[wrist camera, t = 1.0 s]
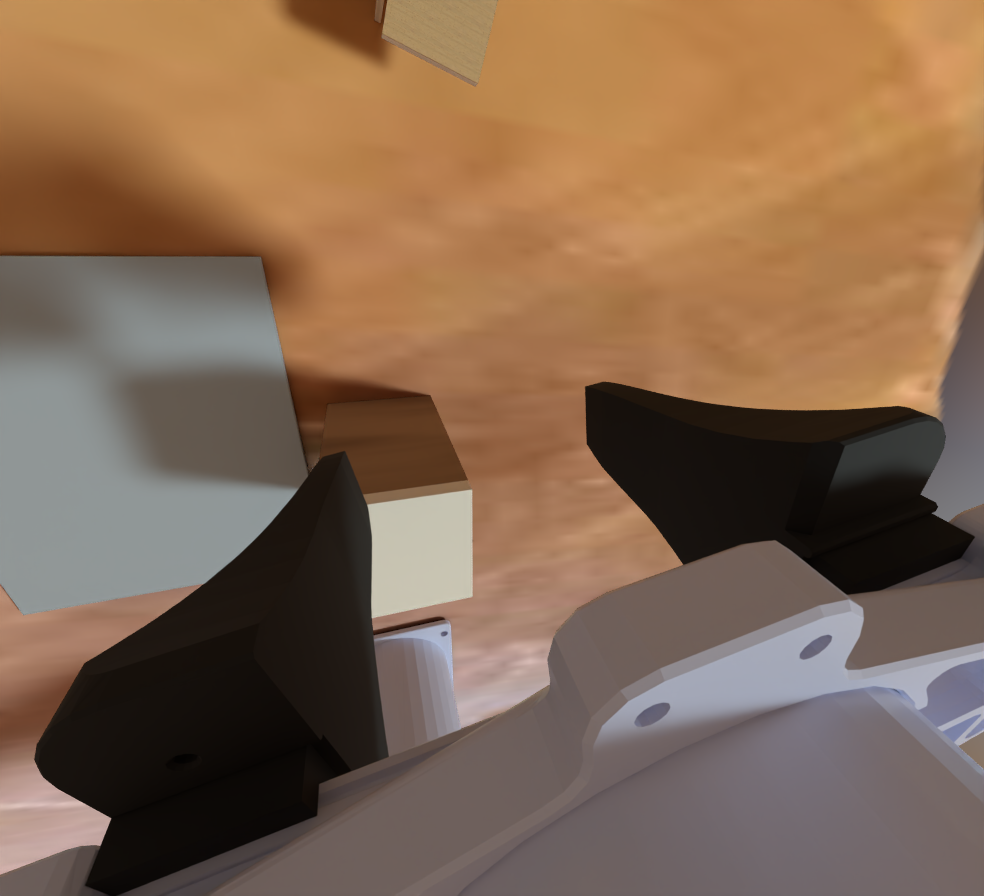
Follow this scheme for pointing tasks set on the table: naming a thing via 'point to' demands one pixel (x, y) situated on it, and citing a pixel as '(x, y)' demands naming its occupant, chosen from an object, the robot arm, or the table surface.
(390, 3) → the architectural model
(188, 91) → the table surface
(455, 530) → the walnut block
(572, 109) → the table surface
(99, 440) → the rubber mat
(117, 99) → the table surface
